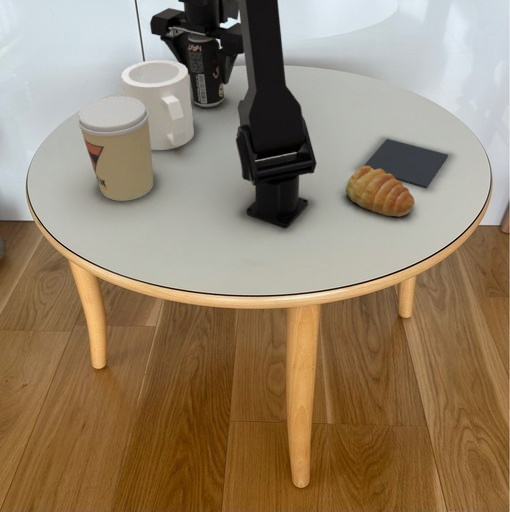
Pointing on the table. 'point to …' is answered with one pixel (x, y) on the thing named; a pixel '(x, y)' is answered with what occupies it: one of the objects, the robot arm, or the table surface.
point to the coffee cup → (118, 146)
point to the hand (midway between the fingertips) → (207, 78)
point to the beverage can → (204, 70)
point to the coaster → (407, 162)
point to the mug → (162, 100)
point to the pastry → (379, 192)
